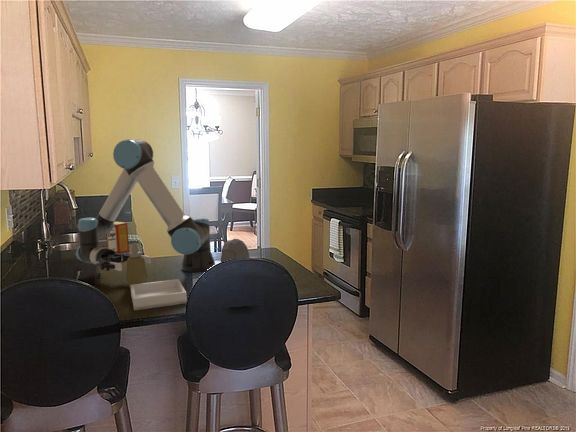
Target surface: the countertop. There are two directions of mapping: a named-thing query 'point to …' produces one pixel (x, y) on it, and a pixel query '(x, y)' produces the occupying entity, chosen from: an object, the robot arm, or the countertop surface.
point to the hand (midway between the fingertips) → (136, 263)
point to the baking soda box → (118, 238)
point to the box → (158, 294)
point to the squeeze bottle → (136, 267)
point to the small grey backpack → (234, 250)
